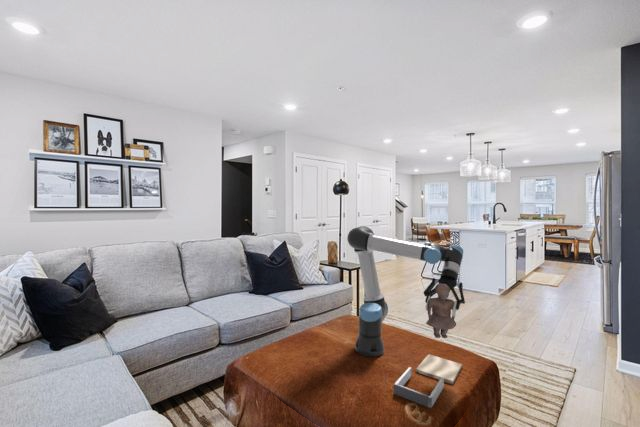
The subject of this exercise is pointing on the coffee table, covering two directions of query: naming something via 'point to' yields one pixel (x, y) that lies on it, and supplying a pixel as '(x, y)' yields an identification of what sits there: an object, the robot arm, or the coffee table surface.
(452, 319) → the clay figurine
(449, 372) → the cream square slab
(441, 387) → the grey channel
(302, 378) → the coffee table surface
